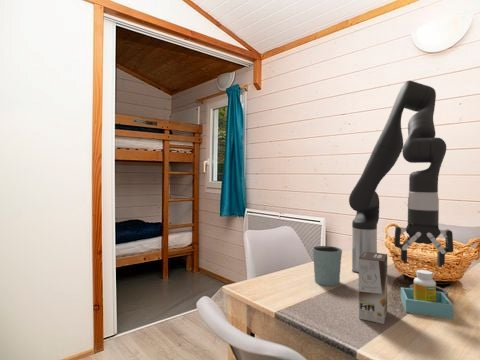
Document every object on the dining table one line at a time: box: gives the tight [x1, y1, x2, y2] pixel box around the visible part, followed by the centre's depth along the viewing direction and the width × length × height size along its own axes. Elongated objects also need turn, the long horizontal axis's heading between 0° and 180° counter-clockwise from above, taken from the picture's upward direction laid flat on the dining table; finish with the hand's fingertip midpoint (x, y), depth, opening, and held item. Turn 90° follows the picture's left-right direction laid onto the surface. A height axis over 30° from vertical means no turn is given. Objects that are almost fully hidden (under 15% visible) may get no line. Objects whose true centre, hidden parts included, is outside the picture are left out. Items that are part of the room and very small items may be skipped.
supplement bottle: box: [413, 269, 437, 302], centre depth 85 cm, size 5×5×10 cm
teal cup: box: [312, 245, 343, 287], centre depth 107 cm, size 10×10×12 cm
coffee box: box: [358, 252, 388, 325], centre depth 81 cm, size 9×6×16 cm
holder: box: [408, 283, 449, 299], centre depth 94 cm, size 10×10×2 cm
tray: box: [400, 287, 454, 319], centre depth 85 cm, size 11×10×4 cm
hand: (422, 264), depth 85 cm, fingers open, 8 cm apart
